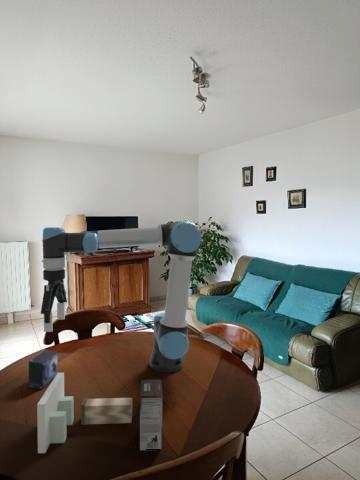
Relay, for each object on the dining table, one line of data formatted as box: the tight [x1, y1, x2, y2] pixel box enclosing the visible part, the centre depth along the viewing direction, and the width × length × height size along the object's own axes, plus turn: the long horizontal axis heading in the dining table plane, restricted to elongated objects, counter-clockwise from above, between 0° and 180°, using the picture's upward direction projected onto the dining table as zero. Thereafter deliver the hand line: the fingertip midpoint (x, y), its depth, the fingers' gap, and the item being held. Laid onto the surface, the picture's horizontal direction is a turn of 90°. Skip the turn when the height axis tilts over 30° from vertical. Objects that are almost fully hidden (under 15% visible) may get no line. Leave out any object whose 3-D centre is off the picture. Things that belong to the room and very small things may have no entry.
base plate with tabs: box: [36, 372, 75, 454], centre depth 96 cm, size 6×18×14 cm, turn 4°
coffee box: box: [139, 379, 163, 451], centre depth 93 cm, size 9×6×16 cm
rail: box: [80, 397, 133, 425], centre depth 102 cm, size 16×4×6 cm, turn 94°
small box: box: [28, 350, 59, 390], centre depth 125 cm, size 11×6×10 cm, turn 168°
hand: (55, 325), depth 118 cm, fingers open, 13 cm apart
